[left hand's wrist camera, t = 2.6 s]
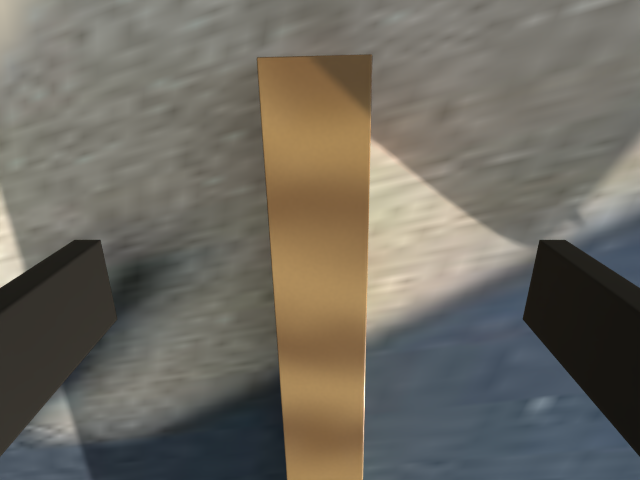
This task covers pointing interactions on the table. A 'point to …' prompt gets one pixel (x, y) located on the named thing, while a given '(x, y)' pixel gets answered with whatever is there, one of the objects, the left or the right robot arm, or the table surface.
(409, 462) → the table surface
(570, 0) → the table surface
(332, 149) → the beam
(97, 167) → the table surface
